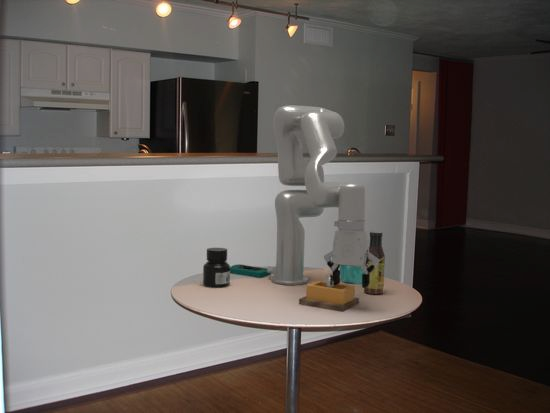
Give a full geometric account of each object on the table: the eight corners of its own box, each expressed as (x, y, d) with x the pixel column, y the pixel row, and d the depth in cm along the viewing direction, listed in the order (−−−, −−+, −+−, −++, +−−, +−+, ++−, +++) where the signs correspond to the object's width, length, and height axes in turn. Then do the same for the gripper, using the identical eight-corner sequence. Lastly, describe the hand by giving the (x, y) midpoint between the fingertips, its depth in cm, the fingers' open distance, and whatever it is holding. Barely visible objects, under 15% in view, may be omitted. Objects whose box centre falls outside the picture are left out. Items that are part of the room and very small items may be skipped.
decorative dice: (339, 279, 214) (339, 256, 213) (360, 278, 215) (361, 256, 215) (346, 284, 206) (347, 261, 205) (368, 283, 208) (369, 260, 207)
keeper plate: (298, 304, 178) (299, 274, 177) (316, 296, 188) (317, 267, 187) (342, 311, 171) (343, 280, 170) (358, 302, 181) (359, 273, 180)
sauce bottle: (381, 295, 190) (384, 233, 188) (361, 293, 192) (364, 232, 190) (384, 291, 196) (387, 231, 194) (366, 289, 198) (368, 229, 197)
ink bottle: (222, 289, 194) (222, 252, 192) (197, 286, 197) (198, 250, 195) (234, 283, 203) (235, 248, 201) (211, 280, 206) (211, 246, 204)
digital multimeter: (238, 270, 225) (238, 263, 225) (271, 276, 218) (272, 268, 217) (226, 274, 219) (226, 266, 219) (260, 279, 211) (260, 271, 211)
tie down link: (306, 298, 178) (306, 285, 178) (318, 293, 185) (318, 280, 185) (343, 304, 172) (343, 291, 172) (354, 299, 179) (354, 285, 179)
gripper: (318, 225, 175) (318, 284, 176) (375, 228, 166) (374, 291, 167) (329, 223, 181) (328, 280, 182) (384, 226, 173) (383, 286, 174)
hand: (350, 285), depth 175 cm, fingers open, 8 cm apart
